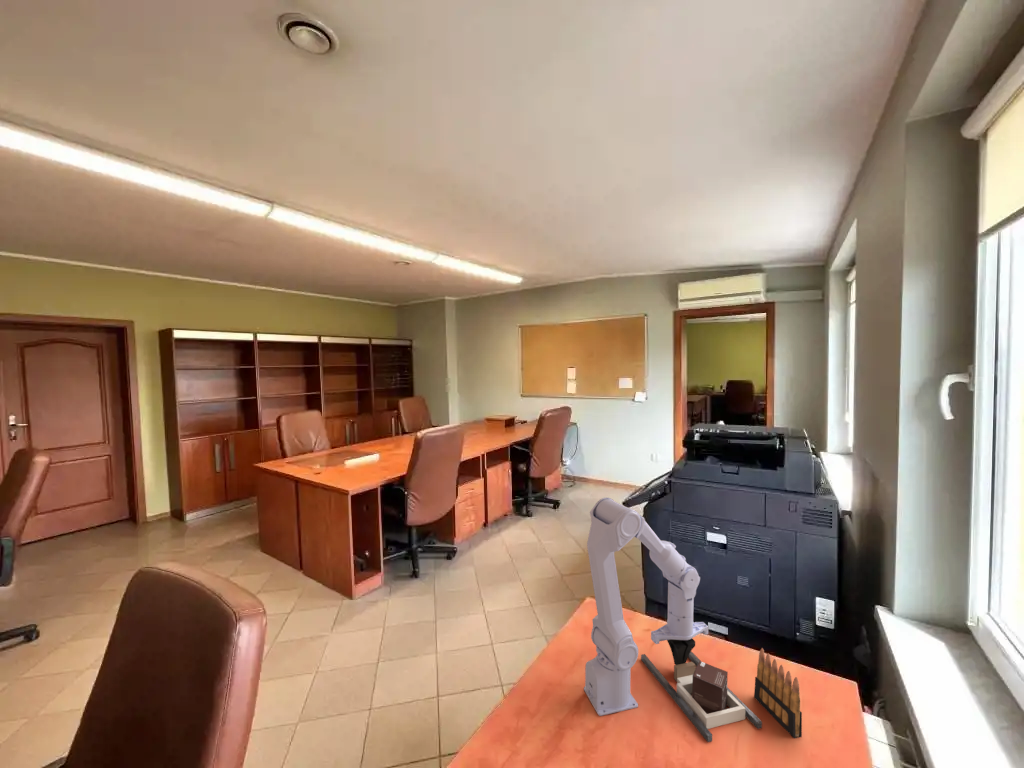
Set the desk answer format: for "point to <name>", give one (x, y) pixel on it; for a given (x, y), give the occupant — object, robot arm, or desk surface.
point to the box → (710, 687)
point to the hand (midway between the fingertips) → (679, 665)
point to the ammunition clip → (778, 694)
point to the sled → (684, 689)
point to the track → (685, 707)
